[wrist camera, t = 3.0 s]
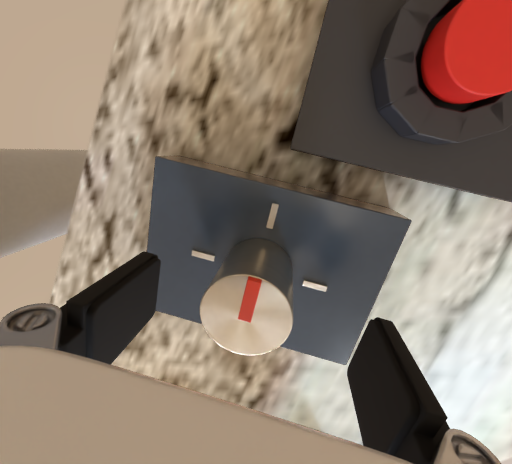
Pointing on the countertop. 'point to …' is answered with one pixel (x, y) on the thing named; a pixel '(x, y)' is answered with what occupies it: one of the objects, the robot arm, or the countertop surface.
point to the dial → (250, 299)
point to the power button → (470, 52)
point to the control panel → (280, 232)
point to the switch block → (399, 102)
